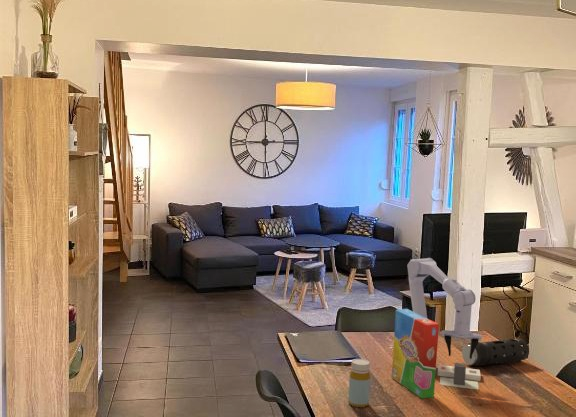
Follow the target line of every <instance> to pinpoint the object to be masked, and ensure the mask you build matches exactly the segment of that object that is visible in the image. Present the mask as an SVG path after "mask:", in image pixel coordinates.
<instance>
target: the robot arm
mask: <svg viewBox="0 0 576 417" xmlns="http://www.w3.org/2000/svg"><path fill="white" fill-rule="evenodd" d="M406 266H407V275H408V283H409V292H410V300H411V307H412V311H413V312H415V313H417V314H419V315H421V316H423V317H425V318H427V319H428V315H427V314H428V313H427V306H426V299H425V292H424V284H423V281H424V280H425V279H426V278H427V277H428V276H431V277H432V278H434V280H436V281H437V282H438V283H440V284H442V289H443V290H444V291H445V293H447V295H449V296H450V297H451V298H452V302H453V304H454V310H455V312H454V326H453V330H445V329H443V330H441V337H444V341H445V344H446V348H447V351H448V357H451V355H452V354H451V352H452V351H451V350H452V338H457V339H467V340H470V343H471V349H470V359H472V355H473V352H474V350H475V348H476V346H477V345H478V342H482V338H483V336H482V334H478V333H476V332H471V321H472V320H471V319H472V318H471V317H472V307H473V306H472V305H474V304H475V302H476V294H475V292H474V291H473V290H471V289H467V288H465V287H464V286H463V285H461V284H460V283H459V282H458V281H457V279H456V278H453V277H448V276H447V275H446V274H445V272H443V270H441V268H439V267H438V266H437V262H436V261H435V260H434V259H433V258H431V257H427V258H416V259H415V258H412V259H410V261H409V262H408V263H407V265H406Z"/></svg>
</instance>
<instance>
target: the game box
mask: <svg viewBox="0 0 576 417" xmlns="http://www.w3.org/2000/svg"><path fill="white" fill-rule="evenodd" d="M394 318H395V320H394V333H393V334H394V336H393V352H392V365H391V366H392V367H391V379H392V380H395V381H396V382H397V383H399V384H400V385H402V386H403V387H405V389H407V390H409V391H411V393H413V394H414V395H416V396H417V397H419V398H420V399H429V398H434V397H435V385H436V370H437V358H438V344H439V343H438V341H439V328H440V323H438V322H435V321H433V320H431V319H429V318H428V317H427V318H425V317H423V316H421V315H419V314H417V313H415V312H413V310H410V309H409V308H401V309H395V316H394Z"/></svg>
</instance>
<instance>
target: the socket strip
mask: <svg viewBox="0 0 576 417" xmlns="http://www.w3.org/2000/svg"><path fill="white" fill-rule="evenodd" d="M437 377H444V378H452V379H454V366H453V365H452V366H451V365H445V364H444V365H443V364H437ZM481 378H482V377H481V371H480V369H475V368H468V367H466V373H465V380H468V381H476V382H481Z"/></svg>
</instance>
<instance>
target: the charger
mask: <svg viewBox="0 0 576 417" xmlns="http://www.w3.org/2000/svg"><path fill="white" fill-rule="evenodd" d="M453 367H454V378H452V379H453V382H454V384H457V385H465V380H466V379H465V373H466V368H467V364H466V363H459V362H454V366H453Z"/></svg>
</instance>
